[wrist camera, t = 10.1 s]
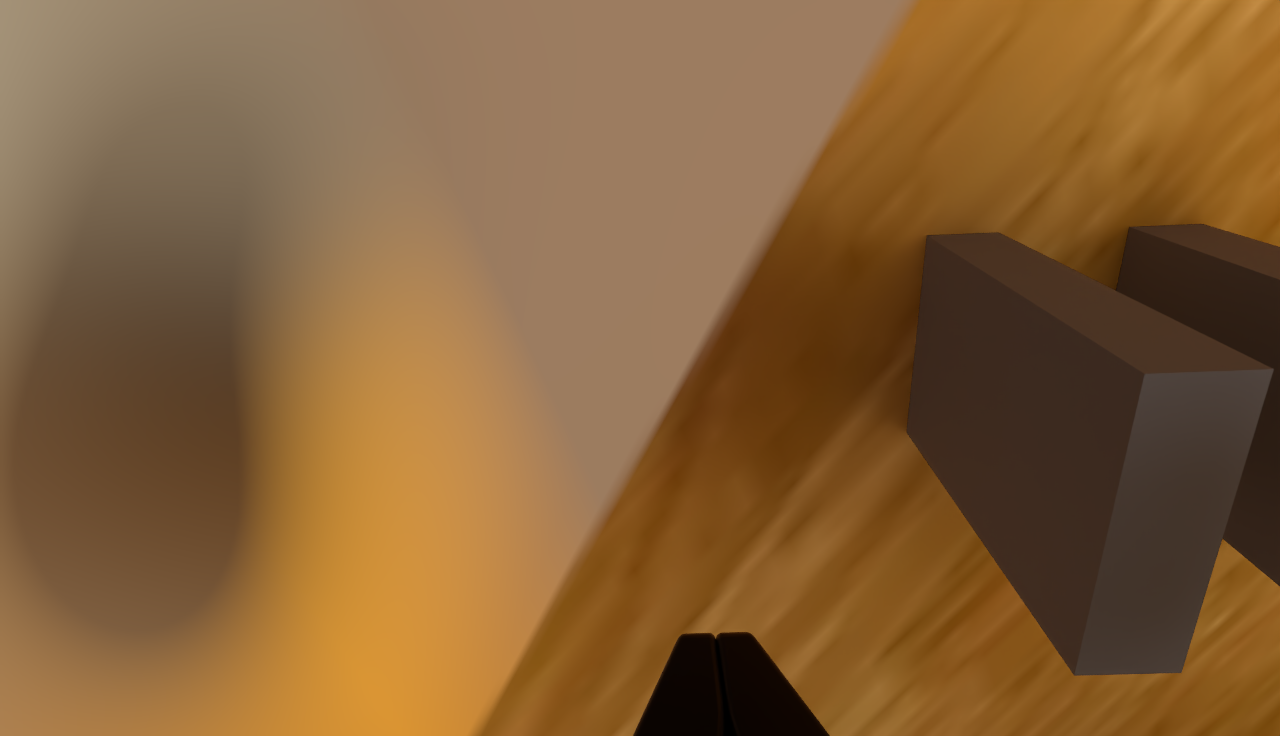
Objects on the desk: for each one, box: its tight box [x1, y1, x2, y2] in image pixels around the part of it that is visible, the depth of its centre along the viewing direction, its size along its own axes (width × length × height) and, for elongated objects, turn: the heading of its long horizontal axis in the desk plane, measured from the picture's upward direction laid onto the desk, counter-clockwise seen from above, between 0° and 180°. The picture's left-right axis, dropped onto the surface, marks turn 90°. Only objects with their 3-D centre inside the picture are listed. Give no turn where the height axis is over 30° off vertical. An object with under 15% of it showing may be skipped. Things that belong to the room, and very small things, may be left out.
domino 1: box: [907, 233, 1274, 675], centre depth 14 cm, size 5×2×8 cm, turn 3°
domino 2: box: [1116, 224, 1280, 586], centre depth 14 cm, size 5×2×8 cm, turn 3°
